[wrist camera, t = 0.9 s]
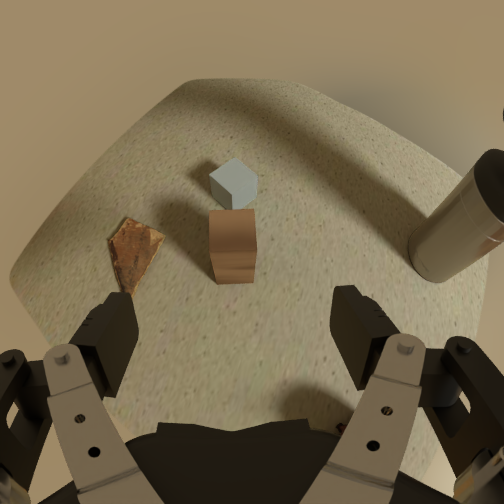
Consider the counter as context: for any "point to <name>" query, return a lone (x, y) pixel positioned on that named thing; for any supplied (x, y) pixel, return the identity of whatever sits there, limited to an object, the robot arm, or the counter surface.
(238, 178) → the grey-blue block
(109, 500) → the robot arm
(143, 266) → the shard
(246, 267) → the walnut block
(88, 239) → the counter surface
